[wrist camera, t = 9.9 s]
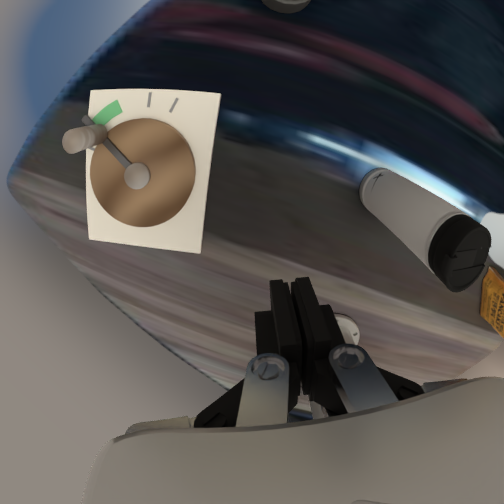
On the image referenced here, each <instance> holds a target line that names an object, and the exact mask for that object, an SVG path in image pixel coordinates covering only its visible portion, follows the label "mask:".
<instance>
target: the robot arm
mask: <svg viewBox="0 0 504 504" xmlns="http://www.w3.org/2000/svg"><path fill="white" fill-rule="evenodd" d="M270 299H271V311H260V312H255V329H256V346H257V356H256V357H254V358H252V360H251V361H250V362H249V363H248V366H247V369H246V375H245V378H244V379H243V380H241V381H240V382H239V383H238V384H237V385H235V386H234V387H233V388H231V389H230V390H229V391H228V392H226V393H225V394H224V395H223V396H221V397H220V398H219V399H217V400H216V401H215V402H213V403H212V404H211V405H210V406H208V407H207V408H205V409H204V410H203V411H202V412H200V413H199V414H198V415H197V417H193V418H188V416H184V417H177V418H171V419H163V420H157V421H148V422H140V423H136V424H133V425H132V426H130V427H129V428H128V429H127V431H126V433H125V434H124V435H121V436H118V437H116V438H113V439H111V440H110V441H109V442H107V443H106V444H105V445H104V446H103V447H102V448H101V449H100V451H99V452H98V454H97V456H96V458H95V460H94V462H93V465H92V467H91V470H90V473H89V476H88V479H87V483H86V486H85V490H84V494H83V498H82V503H81V504H504V378H500V377H481V378H474V379H469V380H467V379H455V380H447V381H438V382H428V383H423V385H422V386H420V385H419V384H417V383H415V382H413V381H411V380H408V379H406V378H403V377H401V376H398V375H396V374H393V373H391V372H388V371H386V370H384V369H381V368H379V367H376V366H375V364H374V363H373V361H372V360H371V358H370V357H369V355H368V354H367V352H366V351H365V350H364V349H363V348H362V347H360V346H358V345H357V344H358V341H359V337H360V333H359V329H358V327H357V325H356V323H355V322H354V321H353V320H352V319H351V318H349V317H347V316H345V315H341V314H334V313H333V310H332V308H331V306H330V305H329V304H328V305H320V306H319V303H318V300H317V298H316V295H315V292H314V290H313V287H312V284H311V282H310V279H309V277H302V278H296V279H295V282H291V294H290V290H289V286H288V282H285V283H283V280H282V279H281V280H270ZM301 386H302V390H303V394H304V395H308V396H309V401H310V406H311V410H312V415H313V420H307V421H300V422H292V423H288V416H289V412H290V411H291V410H292V409H293V408H294V407H295V406H296V405H297V400H298V396H300V387H301Z"/></svg>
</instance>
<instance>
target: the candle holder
mask: <svg viewBox="0 0 504 504" xmlns="http://www.w3.org/2000/svg"><path fill="white" fill-rule="evenodd" d="M310 1H311V0H262V2H263V4H265V5H266V6H267V7H269V8H270V9H272V10H274V11H277V12H280V13H294V12H298V11H301V10H302V9H303V8H305V7H306V6H307V5H308V4H309V2H310Z"/></svg>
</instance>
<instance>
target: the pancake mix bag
mask: <svg viewBox="0 0 504 504" xmlns="http://www.w3.org/2000/svg"><path fill="white" fill-rule="evenodd" d="M480 315H481V316H482V317H483V318H484V319H485V320H486V321H488V322H489V323H490V324H491V325H492V326H493V328H494V329H495V330H496V331H497V332H498V333H499V334H500V335H501V336H502V337H503V338H504V278H503V277H502V276H501V275H500V274H499V273H498V272H497V270H496V269H495V268H494V267H491V266H489V268H488V272H487V274H486V275H485V277H484V278H483V283H482V294H481V306H480Z"/></svg>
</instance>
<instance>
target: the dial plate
mask: <svg viewBox="0 0 504 504" xmlns="http://www.w3.org/2000/svg"><path fill="white" fill-rule="evenodd" d="M220 100H221V94H219V93H209V92H198V91H184V90H166V89H108V90H91V93H90V103H89V113H88V116H89V117H90V118H91V119H92V120H93V121H94V122H95V124H102V125H104V126H105V127H106V129H107V132H108V131H109V130H110V129H112V128H113V127H115V126H116V125H118V124H120V123H122V122H125V121H128V120H132V119H140V118H151V119H156V120H160V121H162V122H165V123H167V124H169V125H171V126H172V127H174V128H175V129H176V130H177V131H178V132H180V133H181V134H182V136H183V137H184V138H185V139H186V141H187V142H188V144H189V146H190V148H191V150H192V153H193V156H194V160H195V166H196V176H195V183H194V186H193V189H192V192H191V194H190V196H189V198H188V200H187V202H186V204H185V205H184V206H183V208H182V209H181V210H180V211H179V212H178V213H177V214H176V215H175V216H174V217H173V218H171V219H170V220H168V221H166V222H164V223H162V224H160V225H156V226H152V227H134V226H130V225H127V224H124V223H122V222H120V221H118V220H116V219H115V218H113V217H112V216H110V215H109V214H108V213H107V212H106V211H105V210H104V209H103V208H102V206H101V205H100V203H99V202H98V200H97V198H96V196H95V194H94V192H93V189H92V185H91V180H90V165H91V159H92V155H93V153H94V150H95V148H96V146H97V145H96V146H93V147H90V148H87V149H86V198H87V218H88V232H89V239H90V240H98V241H105V242H113V243H121V244H128V245H136V246H144V247H151V248H159V249H167V250H175V251H183V252H191V253H199V254H200V253H201V249H202V239H203V228H204V219H205V210H206V201H207V192H208V184H209V176H210V168H211V160H212V153H213V146H214V139H215V132H216V125H217V119H218V112H219V106H220Z"/></svg>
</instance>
